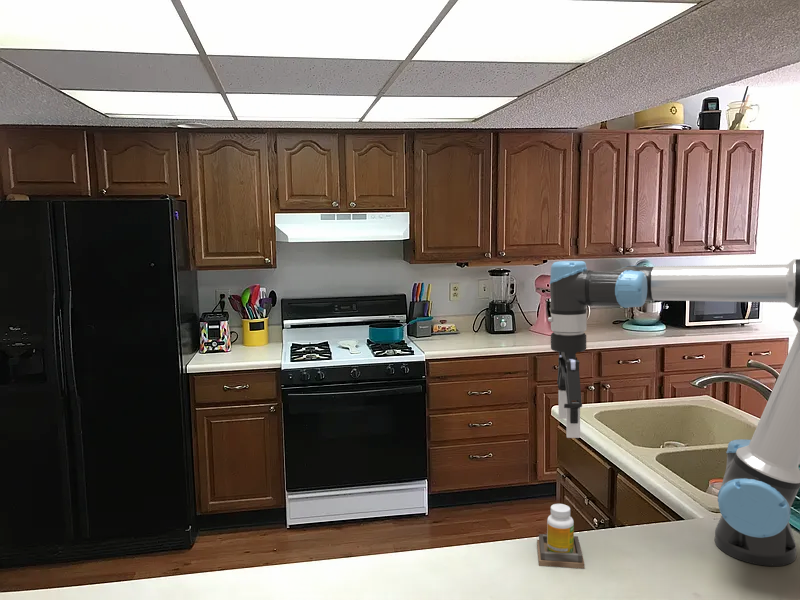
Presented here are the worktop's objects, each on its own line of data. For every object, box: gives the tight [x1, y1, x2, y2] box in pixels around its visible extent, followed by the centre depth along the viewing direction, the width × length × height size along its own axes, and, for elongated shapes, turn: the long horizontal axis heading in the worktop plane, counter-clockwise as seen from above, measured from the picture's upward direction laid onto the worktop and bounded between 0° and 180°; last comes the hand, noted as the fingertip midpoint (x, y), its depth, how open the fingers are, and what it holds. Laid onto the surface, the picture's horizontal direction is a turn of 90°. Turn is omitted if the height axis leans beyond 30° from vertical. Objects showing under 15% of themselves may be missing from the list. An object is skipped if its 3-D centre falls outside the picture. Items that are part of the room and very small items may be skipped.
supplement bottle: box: [546, 503, 575, 553], centre depth 133 cm, size 5×5×10 cm
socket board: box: [536, 533, 585, 569], centre depth 133 cm, size 9×9×2 cm
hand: (568, 427), depth 140 cm, fingers open, 13 cm apart
